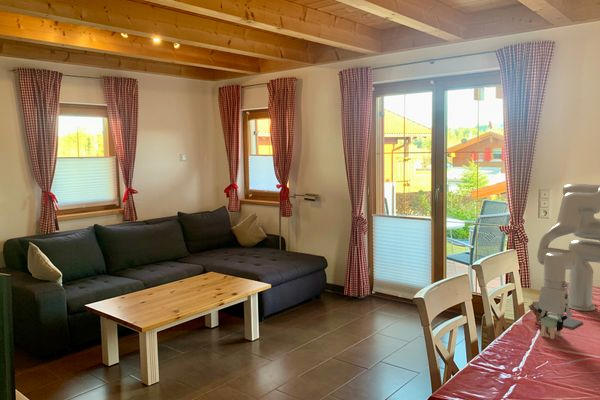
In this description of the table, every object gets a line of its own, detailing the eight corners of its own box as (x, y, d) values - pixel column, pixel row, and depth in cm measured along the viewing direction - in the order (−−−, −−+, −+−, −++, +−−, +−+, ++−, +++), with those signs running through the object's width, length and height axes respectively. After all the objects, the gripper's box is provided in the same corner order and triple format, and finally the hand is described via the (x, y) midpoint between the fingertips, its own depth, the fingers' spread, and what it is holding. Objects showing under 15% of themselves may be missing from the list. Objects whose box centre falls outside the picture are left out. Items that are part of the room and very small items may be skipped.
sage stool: (549, 331, 196) (549, 314, 195) (561, 334, 192) (562, 318, 191) (540, 335, 192) (541, 318, 191) (553, 339, 188) (553, 322, 187)
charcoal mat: (549, 314, 215) (549, 312, 215) (582, 323, 204) (583, 321, 204) (538, 319, 209) (538, 317, 209) (571, 329, 198) (572, 327, 198)
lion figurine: (526, 320, 208) (526, 300, 207) (537, 319, 209) (538, 299, 208) (549, 333, 194) (550, 311, 193) (561, 332, 195) (561, 310, 194)
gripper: (581, 287, 185) (578, 332, 187) (537, 277, 198) (535, 319, 201) (572, 291, 180) (569, 337, 183) (528, 281, 194) (526, 324, 196)
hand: (552, 327), depth 192 cm, fingers closed on sage stool, 5 cm apart
